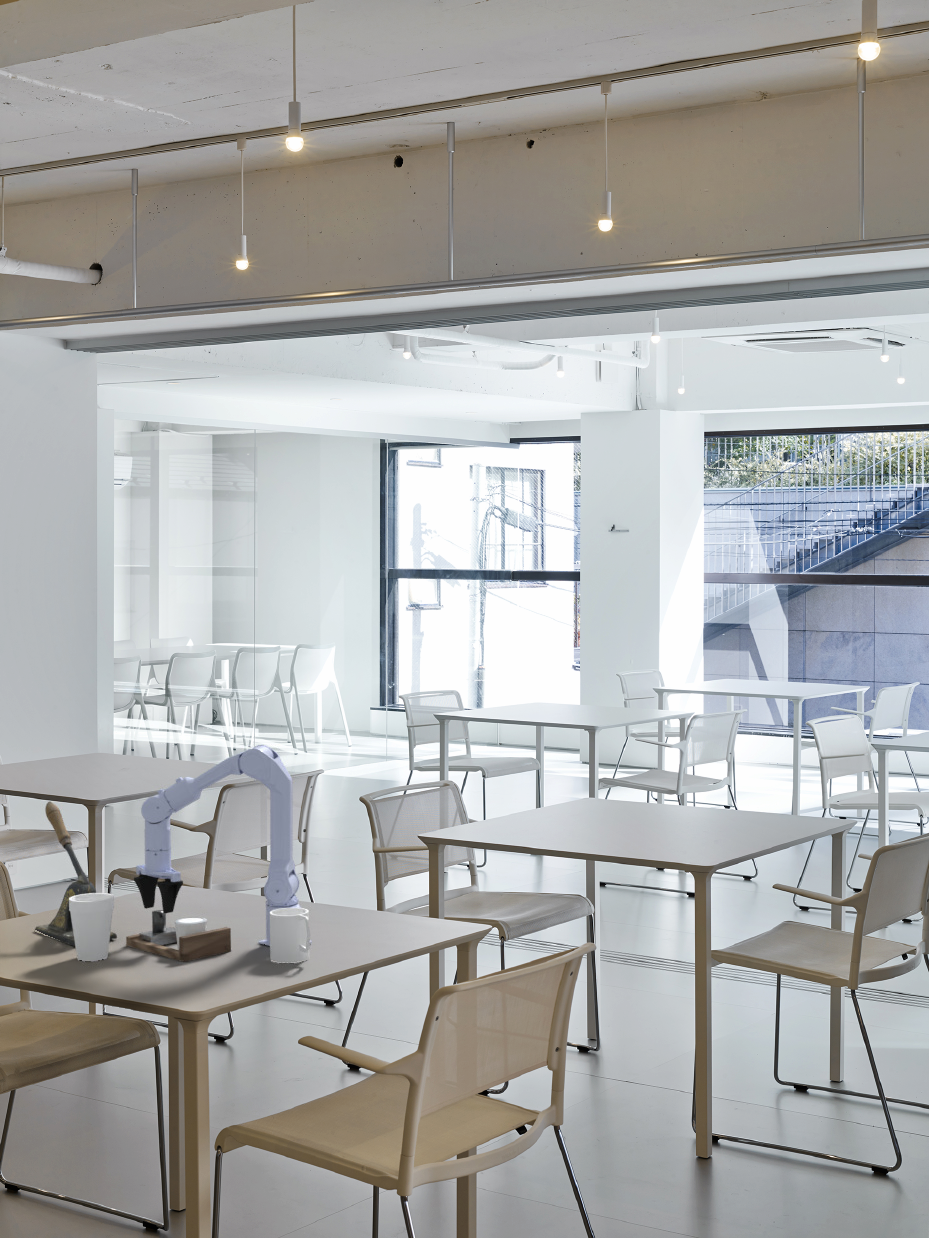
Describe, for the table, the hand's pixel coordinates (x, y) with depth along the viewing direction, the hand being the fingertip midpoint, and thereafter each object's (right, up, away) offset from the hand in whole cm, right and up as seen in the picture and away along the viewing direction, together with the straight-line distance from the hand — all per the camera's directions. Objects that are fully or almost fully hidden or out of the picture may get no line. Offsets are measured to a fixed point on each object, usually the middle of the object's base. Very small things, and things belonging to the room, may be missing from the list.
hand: (158, 910), depth 313 cm
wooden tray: (+5, -7, -5) cm, 10 cm away
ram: (+1, -7, 0) cm, 7 cm away
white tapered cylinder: (+9, -8, -8) cm, 14 cm away
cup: (+32, -7, -17) cm, 37 cm away
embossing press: (-21, -8, +9) cm, 24 cm away
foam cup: (-12, -8, -12) cm, 19 cm away
